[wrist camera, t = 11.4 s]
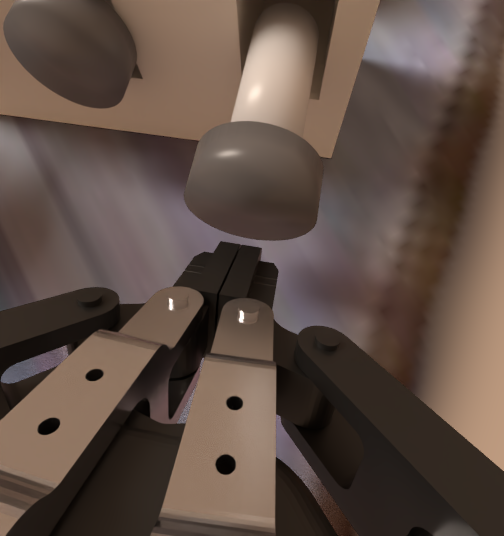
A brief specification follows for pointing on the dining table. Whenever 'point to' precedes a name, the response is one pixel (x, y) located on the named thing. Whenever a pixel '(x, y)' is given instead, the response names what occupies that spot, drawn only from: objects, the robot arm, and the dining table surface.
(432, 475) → the robot arm
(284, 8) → the knob
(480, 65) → the dining table surface
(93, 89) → the knob
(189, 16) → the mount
